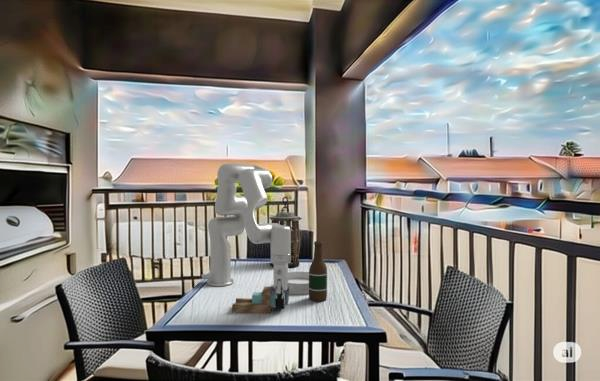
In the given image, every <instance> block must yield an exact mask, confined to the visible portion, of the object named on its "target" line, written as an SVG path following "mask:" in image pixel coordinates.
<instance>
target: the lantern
mask: <svg viewBox="0 0 600 381" xmlns="http://www.w3.org/2000/svg"><path fill="white" fill-rule="evenodd" d="M285 199H286V201H284V200H285ZM281 201H282V203H283V205H284V206H283V207H282V208H281V211H279V212H276V214H275V215H272V216H270V217H268V219H269V220H270V221H271V222H270V223H278V224H280V225H284V226H289V227H290V229H291V234H292V236H291V253H290V254H291V260H290V261H291V262H290V263H288V268H289V269H295V268H298V267H299V266H300V262H299V257H300V256H299V255H300V252H301V250H300V249H301V242H302V241H301V232H300V220H302V217H300V216H298V215H295V212H292V211H290V209H289V208H288V206H287V204H288V203H289V198H288V197H287V196H284V197H282V200H281ZM286 209H287V211H284V210H286ZM269 248H270V250H271V243H269ZM270 265H271V266H270V267H272V268H274V264H273V263H271V262H270Z"/></svg>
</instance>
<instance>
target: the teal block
mask: <svg viewBox="0 0 600 381" xmlns="http://www.w3.org/2000/svg"><path fill="white" fill-rule="evenodd" d="M275 298H276V293H271V294H270V306H272V307H275ZM283 298H284V304H285V293H283ZM251 299H252V304H262V291H260V292H259V291H254V292H253V293H252V295H251Z"/></svg>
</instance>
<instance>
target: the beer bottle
mask: <svg viewBox="0 0 600 381" xmlns="http://www.w3.org/2000/svg"><path fill="white" fill-rule="evenodd" d="M323 244H324V242H323V241H321V240H315V241H314V243H313V246H314V250H313V251H314V252H313V260H312V262H311V264H310V266H309V270H308V272H309V294H308V300H310V301H311V302H315V303H316V302H318V303H319V302H320V303H321V302H326V301H327V298H328V269H327V268H328V267H327V265H326V263H325V261H324V258H323V257H324V256H323Z"/></svg>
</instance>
